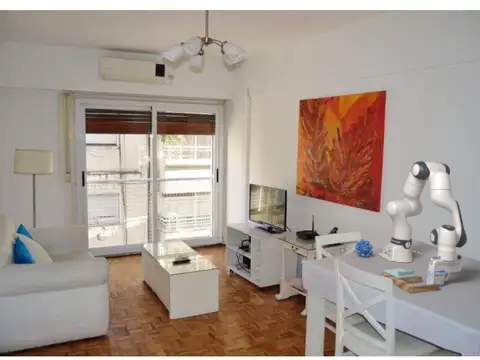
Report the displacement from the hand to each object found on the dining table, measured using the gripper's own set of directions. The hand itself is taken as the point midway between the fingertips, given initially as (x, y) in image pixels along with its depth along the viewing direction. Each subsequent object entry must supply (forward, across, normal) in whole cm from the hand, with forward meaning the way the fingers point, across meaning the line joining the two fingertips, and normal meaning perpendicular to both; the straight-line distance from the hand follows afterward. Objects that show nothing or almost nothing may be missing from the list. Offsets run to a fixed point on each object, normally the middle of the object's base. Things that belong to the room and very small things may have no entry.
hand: (444, 280), depth 239 cm
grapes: (+2, -11, +55) cm, 57 cm away
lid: (-1, -19, +13) cm, 23 cm away
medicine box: (+2, -6, 0) cm, 7 cm away
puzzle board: (+2, -19, +5) cm, 20 cm away
